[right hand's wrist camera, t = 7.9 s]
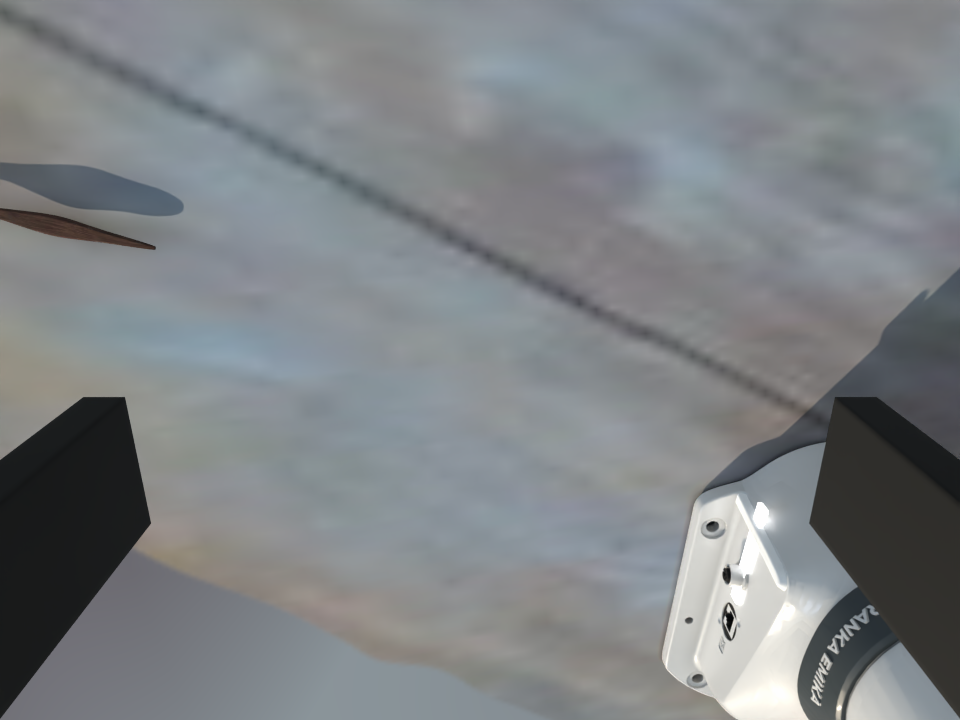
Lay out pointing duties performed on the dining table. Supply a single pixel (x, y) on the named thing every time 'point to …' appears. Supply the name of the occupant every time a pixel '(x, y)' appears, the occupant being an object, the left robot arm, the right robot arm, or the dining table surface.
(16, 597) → the right robot arm
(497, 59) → the dining table surface
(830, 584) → the left robot arm
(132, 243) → the fork
